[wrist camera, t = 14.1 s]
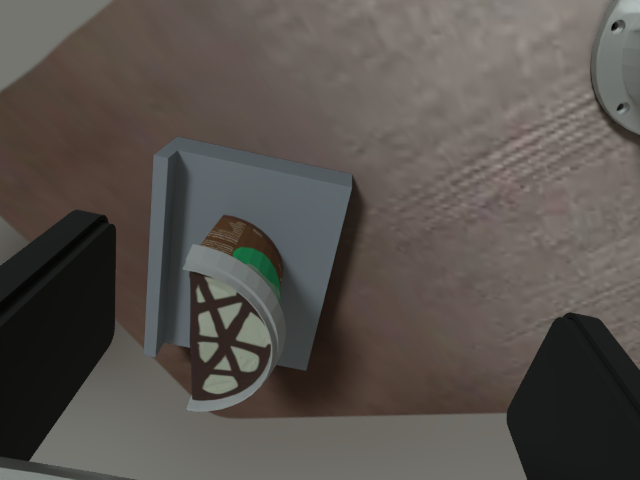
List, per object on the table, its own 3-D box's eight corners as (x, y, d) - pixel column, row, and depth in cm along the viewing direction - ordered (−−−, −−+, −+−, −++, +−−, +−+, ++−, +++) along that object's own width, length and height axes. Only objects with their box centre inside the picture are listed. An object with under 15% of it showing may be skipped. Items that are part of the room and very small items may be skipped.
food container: (291, 336, 42) (275, 427, 33) (221, 327, 42) (186, 416, 33) (304, 206, 36) (289, 273, 28) (223, 196, 37) (182, 260, 28)
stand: (352, 174, 38) (352, 197, 34) (308, 349, 46) (304, 386, 42) (177, 136, 38) (153, 155, 33) (164, 320, 46) (143, 355, 41)
